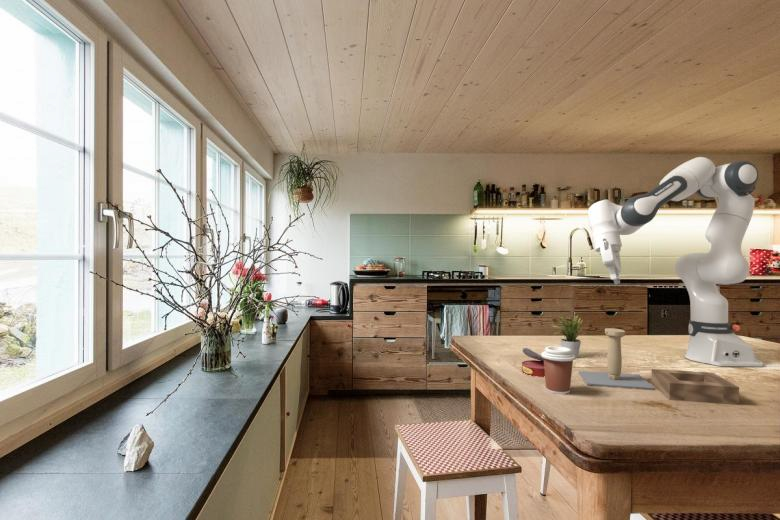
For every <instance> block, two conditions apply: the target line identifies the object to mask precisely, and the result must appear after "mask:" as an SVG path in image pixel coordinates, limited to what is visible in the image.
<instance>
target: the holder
mask: <svg viewBox="0 0 780 520" xmlns="http://www.w3.org/2000/svg"><path fill="white" fill-rule="evenodd" d="M651 385H652V386H653V387H654V388H655V389H657V390H658V391H659V392H660V393H661V394H662V395H664V396H665V397H666V398H667V399H668V400H669V401H684V402H685V401H686V402H699V403H709V404H710V403H712V404H713V403H714V404H726V405H740V387H739V386H737V385H736V384H734V383H732V382H731V381H729V380H727V379H725V378H724V377H722V376H720V375H718V374H716V373H715V372H708V371H692V370H691V371H689V370H671V369H655V368H654V369H652V368H651Z"/></svg>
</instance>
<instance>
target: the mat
mask: <svg viewBox="0 0 780 520" xmlns="http://www.w3.org/2000/svg"><path fill="white" fill-rule="evenodd" d="M578 374H579V376H580V375H581V376H580V377H581V379H582V378H583V379H582V380H583V381H585V382H584V383H585V385H586V384H587V385H593V386H592V387H602V386H608V387H607V388H617V387H624V388H623V389H632V388H636V389H637V390H646V391H647V390H649V391H655V390H656V388H655V387H654V386H653V385H652V383H650V382H648V381H647V380H646V379H645V378H644V377H643V376H642V375H641V374H640V373H639V374H636V373H622V372H621V374H620V379H619V380H613V379H609V375H608V374H609V373H608V372H605V371H604V372H603V371H586V370H578ZM587 385H586V386H587ZM636 389H635V390H636Z"/></svg>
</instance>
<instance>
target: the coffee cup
mask: <svg viewBox="0 0 780 520" xmlns="http://www.w3.org/2000/svg"><path fill="white" fill-rule="evenodd" d="M540 355H541V356H542V358H544V370H545V377H544V378H545V379H544V380H545V390H546V391H547V392H548V391H549V392H548V393H550V392H553V393H552V394H554V393H559V394H558V395H568V394H570V393H571V383H572V376H573V375H572V374H573V363H574V361H575V360H576V358H575V355H574V354H573V353H572V350H571V349H569V348H566V347H562V346H557V345H550V346H546V347H545V348H544V350H543V351H542V352H541V354H540ZM569 392H570V393H569ZM567 393H568V394H567Z"/></svg>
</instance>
